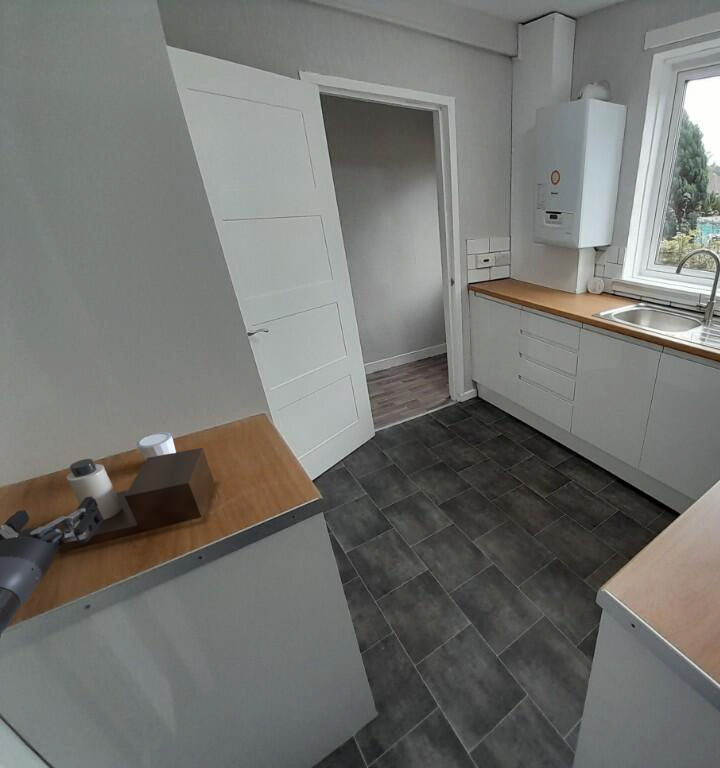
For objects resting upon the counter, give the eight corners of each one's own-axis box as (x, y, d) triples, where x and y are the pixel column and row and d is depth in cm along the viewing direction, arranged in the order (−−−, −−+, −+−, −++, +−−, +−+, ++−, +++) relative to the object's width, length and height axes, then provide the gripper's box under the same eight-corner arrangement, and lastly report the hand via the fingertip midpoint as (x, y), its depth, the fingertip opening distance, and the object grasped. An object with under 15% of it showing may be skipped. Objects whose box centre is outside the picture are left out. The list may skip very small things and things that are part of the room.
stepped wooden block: (61, 556, 76) (37, 514, 72) (93, 509, 88) (73, 471, 84) (203, 521, 85) (188, 482, 81) (214, 483, 97) (202, 447, 92)
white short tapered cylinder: (153, 474, 99) (142, 450, 96) (142, 464, 103) (131, 441, 100) (185, 460, 105) (176, 437, 102) (174, 451, 108) (164, 429, 105)
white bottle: (82, 524, 80) (55, 474, 75) (94, 508, 84) (69, 459, 79) (116, 517, 82) (93, 467, 77) (126, 501, 86) (104, 453, 81)
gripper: (59, 543, 58) (104, 479, 71) (-91, 578, 52) (-11, 501, 66) (80, 581, 61) (119, 512, 74) (-59, 617, 55) (11, 536, 69)
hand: (58, 507), depth 70 cm, fingers open, 8 cm apart
